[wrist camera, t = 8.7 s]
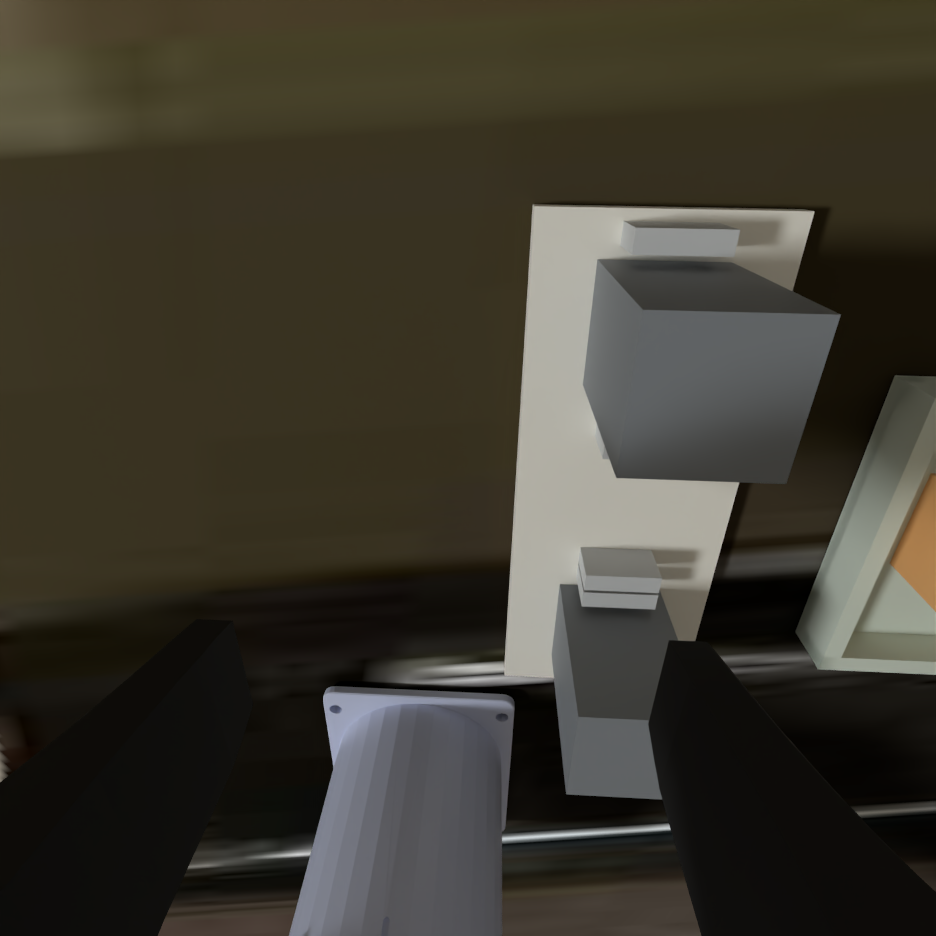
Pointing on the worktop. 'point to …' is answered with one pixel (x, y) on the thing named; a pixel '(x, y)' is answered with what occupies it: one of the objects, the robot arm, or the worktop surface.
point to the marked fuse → (920, 546)
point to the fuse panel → (576, 461)
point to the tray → (878, 550)
